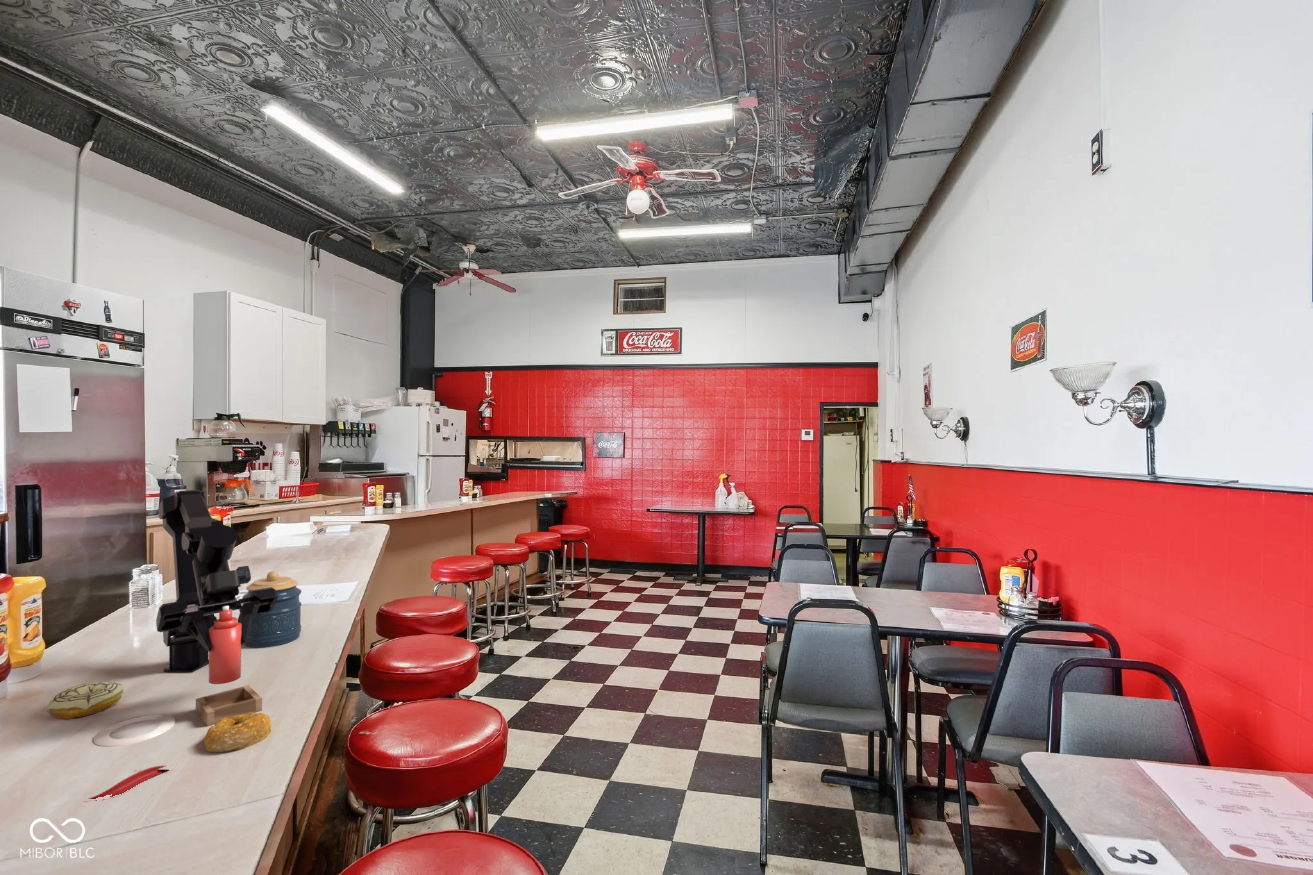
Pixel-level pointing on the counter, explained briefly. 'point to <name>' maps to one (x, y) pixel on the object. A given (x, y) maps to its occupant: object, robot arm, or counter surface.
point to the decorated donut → (85, 699)
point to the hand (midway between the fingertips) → (227, 646)
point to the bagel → (237, 732)
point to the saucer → (134, 730)
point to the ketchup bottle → (225, 648)
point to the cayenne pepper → (132, 781)
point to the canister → (276, 613)
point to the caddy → (228, 704)
